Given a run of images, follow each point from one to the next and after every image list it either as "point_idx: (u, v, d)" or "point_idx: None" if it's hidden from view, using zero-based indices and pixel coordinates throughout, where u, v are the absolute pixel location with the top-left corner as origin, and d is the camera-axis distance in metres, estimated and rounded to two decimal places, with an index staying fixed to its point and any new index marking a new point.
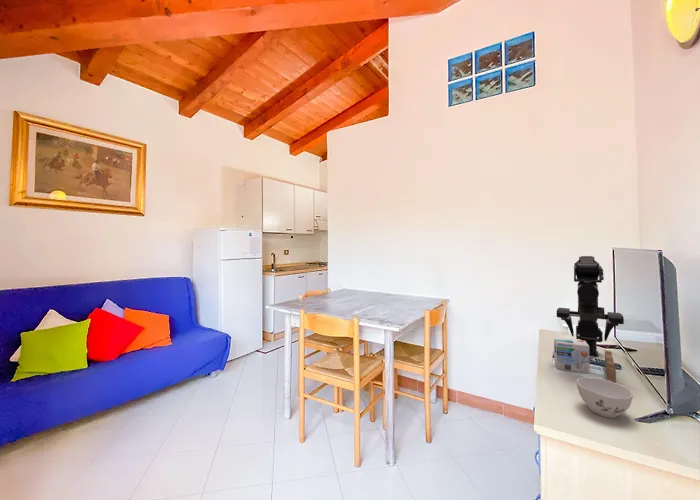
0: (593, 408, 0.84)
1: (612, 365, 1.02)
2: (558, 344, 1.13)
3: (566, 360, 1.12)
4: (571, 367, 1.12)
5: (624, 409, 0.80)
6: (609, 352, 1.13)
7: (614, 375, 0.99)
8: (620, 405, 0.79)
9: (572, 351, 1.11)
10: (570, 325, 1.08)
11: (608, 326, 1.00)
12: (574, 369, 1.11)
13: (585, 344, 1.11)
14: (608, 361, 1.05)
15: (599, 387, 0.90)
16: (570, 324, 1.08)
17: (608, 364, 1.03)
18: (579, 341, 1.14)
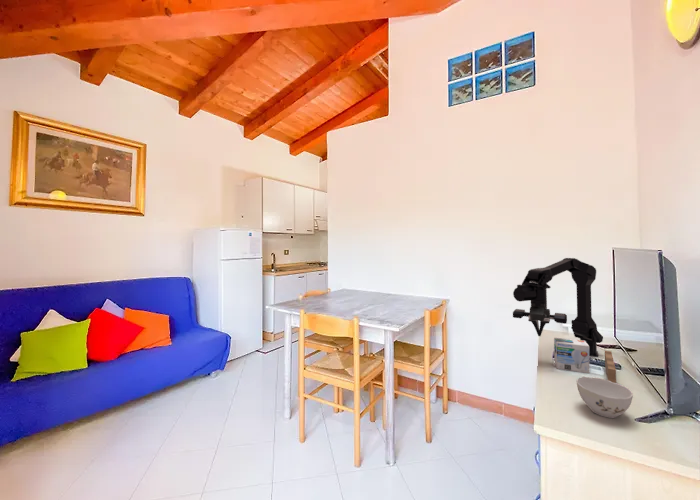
0: (593, 408, 0.84)
1: (612, 365, 1.02)
2: (558, 344, 1.13)
3: (566, 360, 1.12)
4: (571, 367, 1.12)
5: (624, 409, 0.80)
6: (609, 352, 1.13)
7: (614, 375, 0.99)
8: (620, 405, 0.79)
9: (572, 351, 1.11)
10: (536, 326, 1.20)
11: (541, 323, 1.18)
12: (574, 369, 1.11)
13: (585, 344, 1.11)
14: (608, 361, 1.05)
15: (599, 387, 0.90)
16: (536, 325, 1.20)
17: (608, 364, 1.03)
18: (579, 341, 1.14)
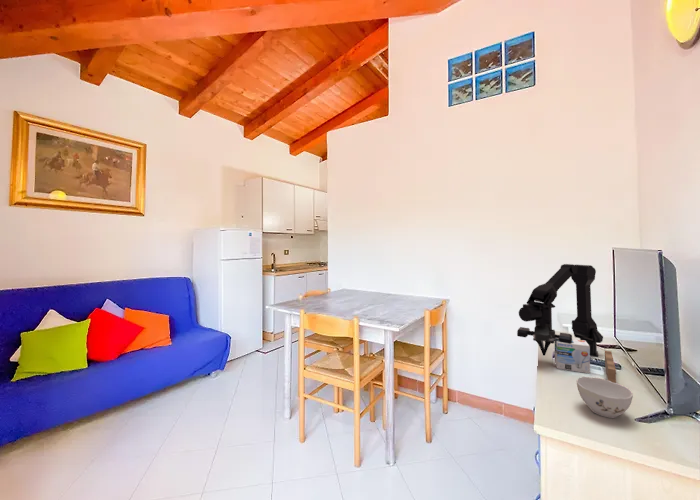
0: (593, 408, 0.84)
1: (612, 365, 1.02)
2: (558, 344, 1.13)
3: (567, 360, 1.12)
4: (572, 367, 1.11)
5: (624, 409, 0.80)
6: (609, 352, 1.13)
7: (614, 375, 0.99)
8: (620, 405, 0.79)
9: (572, 351, 1.11)
10: (541, 345, 1.19)
11: (546, 343, 1.18)
12: (574, 369, 1.11)
13: (585, 344, 1.11)
14: (608, 361, 1.05)
15: (599, 387, 0.90)
16: (541, 344, 1.19)
17: (608, 364, 1.03)
18: (579, 341, 1.14)
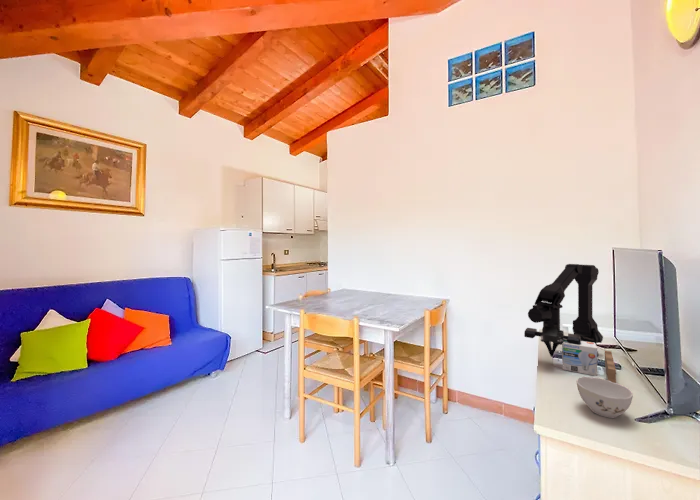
0: (593, 408, 0.84)
1: (612, 365, 1.02)
2: (565, 345, 1.12)
3: (573, 362, 1.11)
4: (578, 369, 1.10)
5: (624, 409, 0.80)
6: (609, 352, 1.13)
7: (614, 375, 0.99)
8: (620, 405, 0.79)
9: (579, 353, 1.10)
10: (549, 346, 1.18)
11: (554, 344, 1.16)
12: (581, 371, 1.09)
13: (593, 346, 1.08)
14: (608, 361, 1.05)
15: (599, 387, 0.90)
16: (549, 345, 1.18)
17: (608, 364, 1.03)
18: (588, 343, 1.11)
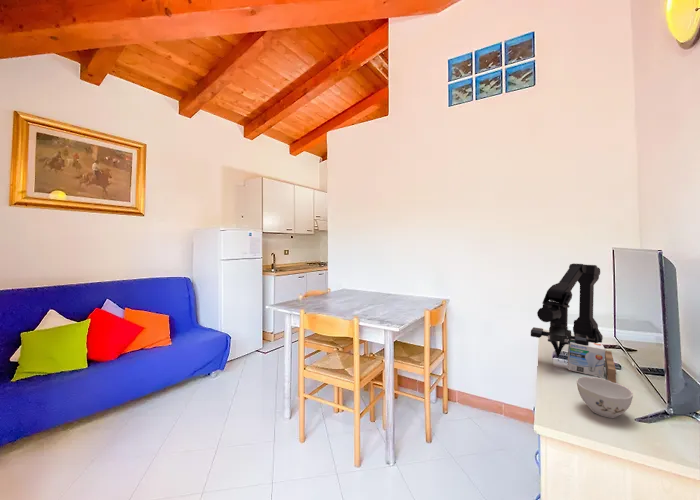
0: (593, 408, 0.84)
1: (612, 365, 1.02)
2: (572, 345, 1.10)
3: (579, 362, 1.09)
4: (584, 369, 1.08)
5: (624, 409, 0.80)
6: (609, 352, 1.13)
7: (614, 375, 0.99)
8: (620, 405, 0.79)
9: (586, 353, 1.08)
10: (556, 346, 1.16)
11: (560, 344, 1.14)
12: (587, 372, 1.08)
13: (601, 347, 1.07)
14: (608, 361, 1.05)
15: (599, 387, 0.90)
16: (556, 346, 1.16)
17: (608, 364, 1.03)
18: (595, 344, 1.10)
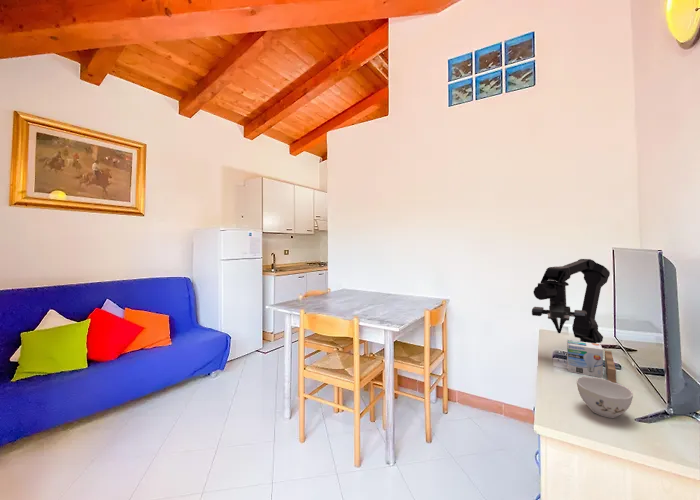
0: (593, 408, 0.84)
1: (612, 365, 1.02)
2: (569, 346, 1.11)
3: (578, 363, 1.09)
4: (584, 370, 1.09)
5: (624, 409, 0.80)
6: (609, 352, 1.13)
7: (614, 375, 0.99)
8: (620, 405, 0.79)
9: (584, 354, 1.08)
10: (556, 323, 1.21)
11: (561, 320, 1.19)
12: (586, 372, 1.08)
13: (599, 347, 1.07)
14: (608, 361, 1.05)
15: (599, 387, 0.90)
16: (556, 322, 1.21)
17: (608, 364, 1.03)
18: (593, 344, 1.10)
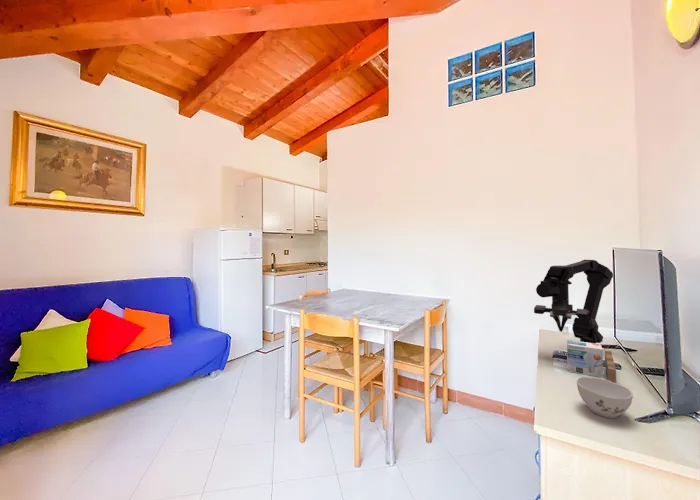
0: (593, 408, 0.84)
1: (612, 365, 1.02)
2: (569, 346, 1.11)
3: (578, 363, 1.09)
4: (584, 370, 1.09)
5: (624, 409, 0.80)
6: (609, 352, 1.13)
7: (614, 375, 0.99)
8: (620, 405, 0.79)
9: (584, 354, 1.08)
10: (558, 321, 1.22)
11: (563, 319, 1.20)
12: (586, 372, 1.08)
13: (599, 347, 1.07)
14: (608, 361, 1.05)
15: (599, 387, 0.90)
16: (558, 320, 1.22)
17: (608, 364, 1.03)
18: (593, 344, 1.10)
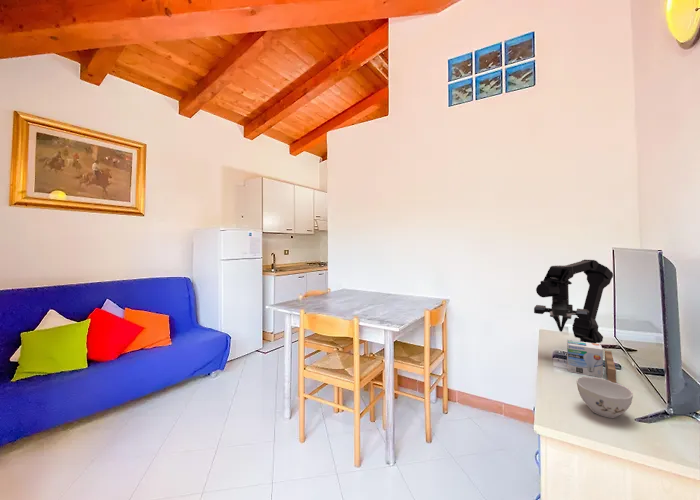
0: (593, 408, 0.84)
1: (612, 365, 1.02)
2: (569, 346, 1.11)
3: (578, 363, 1.09)
4: (584, 370, 1.09)
5: (624, 409, 0.80)
6: (609, 352, 1.13)
7: (614, 375, 0.99)
8: (620, 405, 0.79)
9: (584, 354, 1.08)
10: (558, 321, 1.22)
11: (563, 319, 1.20)
12: (586, 372, 1.08)
13: (599, 347, 1.07)
14: (608, 361, 1.05)
15: (599, 387, 0.90)
16: (558, 320, 1.22)
17: (608, 364, 1.03)
18: (593, 344, 1.10)
